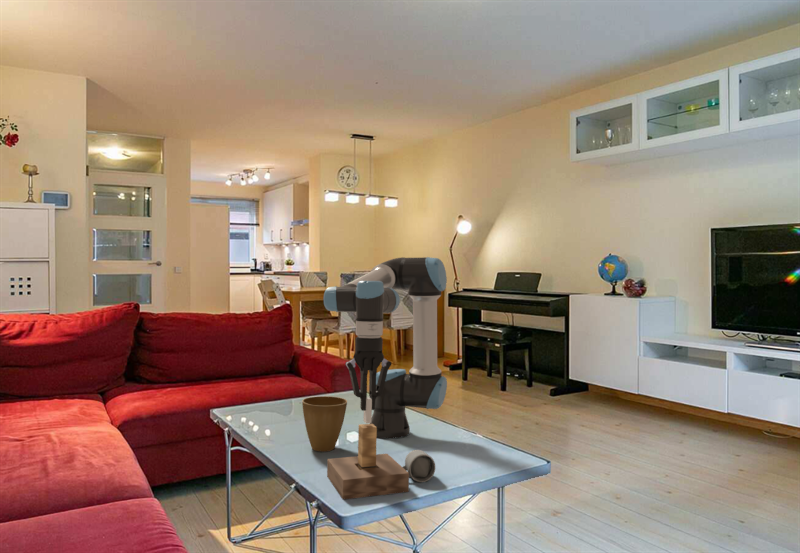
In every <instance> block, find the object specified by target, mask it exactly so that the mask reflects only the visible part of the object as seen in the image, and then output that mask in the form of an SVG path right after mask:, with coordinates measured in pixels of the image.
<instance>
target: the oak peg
mask: <svg viewBox="0 0 800 553" xmlns="http://www.w3.org/2000/svg"><path fill="white" fill-rule="evenodd" d="M357 432H358V436H357V438H358V439H357V442H358V444H357V456H358V468H359V470H365V469H375V468H376V455H377V438H378V437H377V427H376V426H375V425H373V424H370V423H365V424H362V423H361V424H358V431H357Z"/></svg>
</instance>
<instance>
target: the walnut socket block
mask: <svg viewBox="0 0 800 553" xmlns="http://www.w3.org/2000/svg"><path fill="white" fill-rule="evenodd" d="M326 464H327V465H326V466H327V467H326V468H327V470H326V473H327V474H326V476H327V478H328V480H329V482H330V483H331V485H333V487H334V489H335V491H336V492H337V494H338V495H339V496H340V498H341V499H342V500H352V499H358V498H359V499H360V498H367V497H377V496H385V495H393V494H401V493H402V494H403V493H409V490H410V488H409V486H410V483H409V481H410V480H409V479H410V477H409V473H408V471H406V470H405V469H404V468H403V466H401V465H400V463H399V462H397V461H396V460H395V459H394V458H393V457H392V456H390V454H389V453H379V454H377V453H376V468H375V469H365V470H359V468H358V455H357V456H344V457H335V458H327V463H326Z"/></svg>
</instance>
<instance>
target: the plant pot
mask: <svg viewBox="0 0 800 553" xmlns="http://www.w3.org/2000/svg"><path fill="white" fill-rule="evenodd" d="M301 403H302V411H303V412H302V413H303V418H304V419H303V420H304V424H305V428H306V433H307V438H308V440H309V443H310V446H311V448H312V450H313V451H315V452H330V451H333V450H335V447H336V445H337V442H338V440H339V437H340V434H341V432H342V428H343V424H344V419H345V417H346V410H347V405H348V400H347V399H346V398H343V397H338V396H323V395H322V396H321V395H319V396H309V397H306V398H303V399H302V400H301Z"/></svg>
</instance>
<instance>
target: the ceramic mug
mask: <svg viewBox="0 0 800 553" xmlns="http://www.w3.org/2000/svg"><path fill="white" fill-rule="evenodd" d="M402 467H403V468H404V469H405V470H406V471H407V472H408V473H409V478H411V479H412V480H414V482H418V483H425V482H428V481H430V480H431V479H432V478H433V477H434V475H435V471H436V462H435V459H433V457H432V456H430V455H429V454H427V453H426V452H425V451H424V450H421V449H415V450H411V451H410V452H408V453H407V455H406V456H405V460H404V465H403V466H402Z"/></svg>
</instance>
